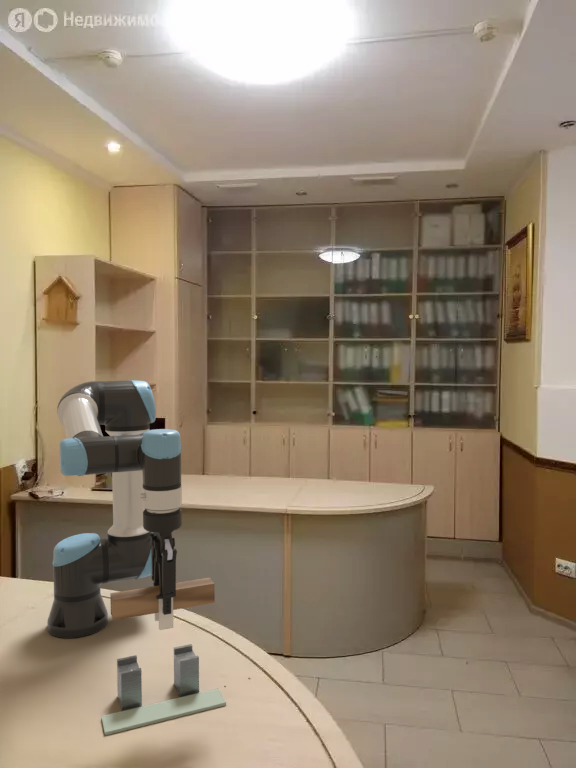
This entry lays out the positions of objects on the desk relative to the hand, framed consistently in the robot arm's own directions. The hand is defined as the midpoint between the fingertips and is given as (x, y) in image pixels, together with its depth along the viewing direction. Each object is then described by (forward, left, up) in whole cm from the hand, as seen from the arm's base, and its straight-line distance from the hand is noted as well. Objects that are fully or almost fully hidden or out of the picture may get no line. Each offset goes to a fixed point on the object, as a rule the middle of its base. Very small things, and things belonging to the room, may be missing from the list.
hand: (163, 623), depth 119 cm
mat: (0, 0, -18) cm, 18 cm away
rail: (0, 0, +3) cm, 3 cm away
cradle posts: (-7, 0, -18) cm, 19 cm away
